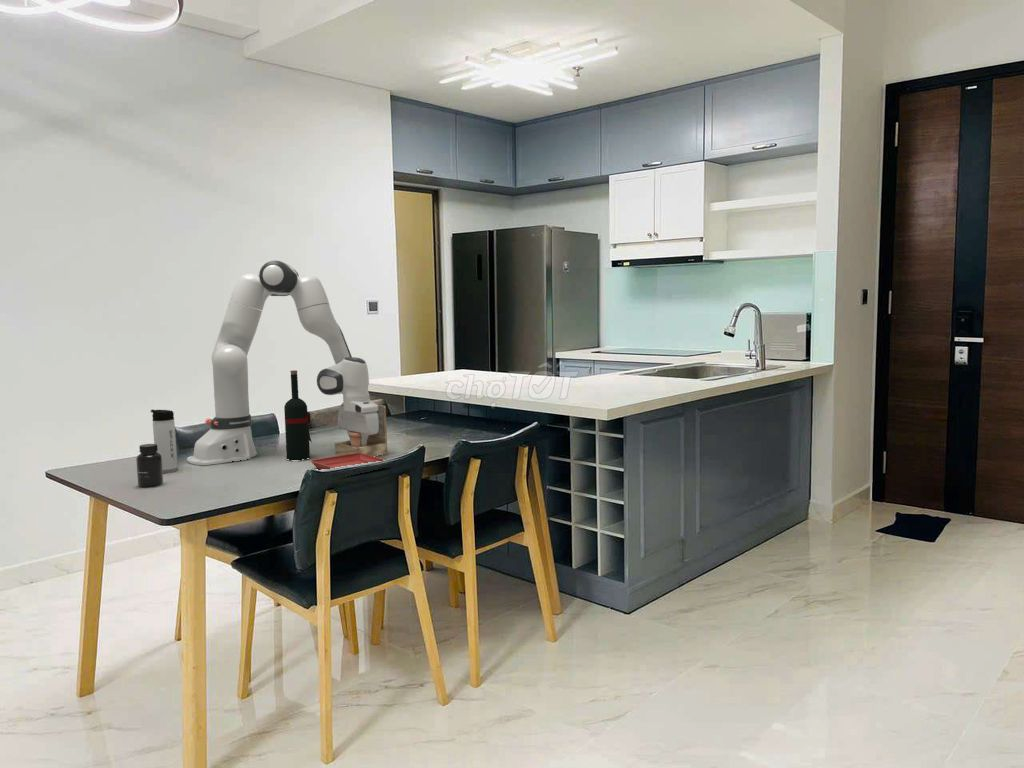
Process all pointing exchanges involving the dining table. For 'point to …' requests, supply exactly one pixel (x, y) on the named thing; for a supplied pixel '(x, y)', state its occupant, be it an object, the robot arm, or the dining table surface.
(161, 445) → the travel mug
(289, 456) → the wine bottle
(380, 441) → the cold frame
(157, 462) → the supplement bottle
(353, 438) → the terracotta pot
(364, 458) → the plant saucer
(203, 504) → the dining table surface
